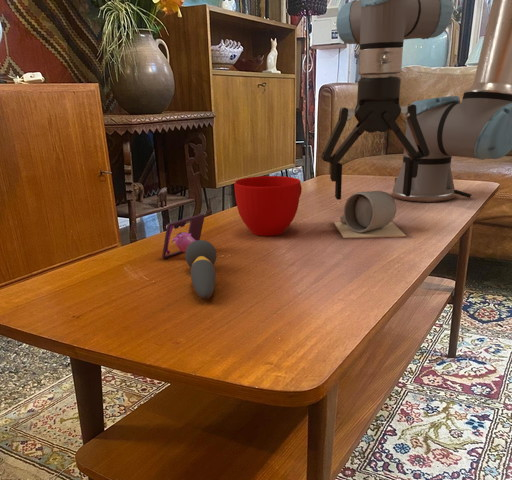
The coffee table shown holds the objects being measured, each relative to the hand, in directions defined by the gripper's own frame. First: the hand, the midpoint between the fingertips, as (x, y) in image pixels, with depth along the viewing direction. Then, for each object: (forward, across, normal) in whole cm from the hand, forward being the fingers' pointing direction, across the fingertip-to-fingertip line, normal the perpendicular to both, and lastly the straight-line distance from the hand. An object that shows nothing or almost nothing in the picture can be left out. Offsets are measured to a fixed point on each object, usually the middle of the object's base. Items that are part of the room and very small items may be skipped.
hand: (372, 196), depth 102 cm
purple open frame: (+6, -36, -14) cm, 39 cm away
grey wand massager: (+6, -32, -28) cm, 43 cm away
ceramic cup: (+6, -20, +2) cm, 21 cm away
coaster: (+7, 0, 0) cm, 7 cm away
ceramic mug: (+6, -2, 0) cm, 7 cm away
